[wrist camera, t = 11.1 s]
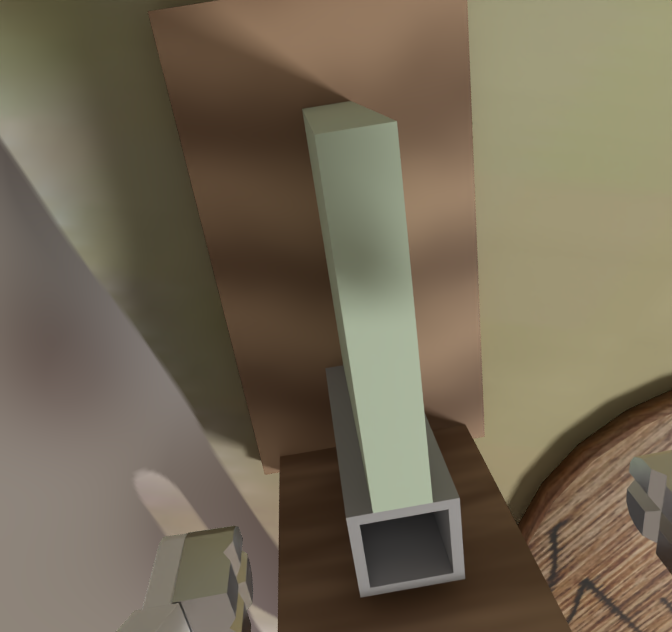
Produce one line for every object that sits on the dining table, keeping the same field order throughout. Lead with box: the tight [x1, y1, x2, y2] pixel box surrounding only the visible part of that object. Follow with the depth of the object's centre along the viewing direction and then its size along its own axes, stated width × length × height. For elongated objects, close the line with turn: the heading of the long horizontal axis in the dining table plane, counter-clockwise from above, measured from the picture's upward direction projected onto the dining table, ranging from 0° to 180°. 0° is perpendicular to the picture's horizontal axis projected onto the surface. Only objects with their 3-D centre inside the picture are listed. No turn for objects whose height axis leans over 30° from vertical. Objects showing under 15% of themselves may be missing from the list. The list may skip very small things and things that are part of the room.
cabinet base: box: [148, 0, 572, 632], centre depth 20 cm, size 22×12×13 cm, turn 8°
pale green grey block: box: [302, 101, 465, 598], centre depth 21 cm, size 16×4×10 cm, turn 8°
